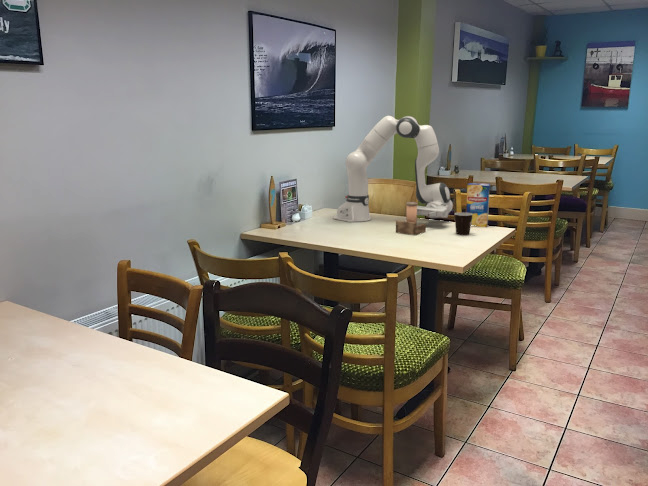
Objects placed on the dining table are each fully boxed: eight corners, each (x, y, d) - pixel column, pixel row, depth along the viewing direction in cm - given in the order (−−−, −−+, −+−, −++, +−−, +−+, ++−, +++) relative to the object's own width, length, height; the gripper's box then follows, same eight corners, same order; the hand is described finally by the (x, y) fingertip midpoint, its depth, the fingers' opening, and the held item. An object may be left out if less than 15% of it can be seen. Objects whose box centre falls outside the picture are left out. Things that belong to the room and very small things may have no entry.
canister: (403, 232, 275) (404, 203, 272) (409, 230, 279) (409, 201, 276) (413, 233, 272) (413, 204, 268) (418, 231, 276) (419, 202, 272)
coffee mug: (459, 231, 275) (460, 211, 272) (474, 233, 269) (475, 213, 266) (447, 235, 267) (447, 215, 265) (462, 237, 261) (463, 217, 259)
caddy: (395, 232, 275) (395, 220, 273) (406, 229, 282) (406, 217, 281) (415, 235, 268) (415, 223, 266) (425, 231, 275) (425, 220, 274)
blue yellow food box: (487, 227, 283) (489, 185, 278) (465, 226, 287) (467, 184, 282) (487, 224, 290) (490, 183, 285) (466, 223, 293) (468, 183, 288)
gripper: (416, 202, 297) (403, 205, 286) (451, 205, 284) (438, 209, 274) (416, 213, 298) (403, 217, 288) (450, 217, 286) (438, 221, 275)
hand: (420, 213), depth 281 cm, fingers open, 8 cm apart
